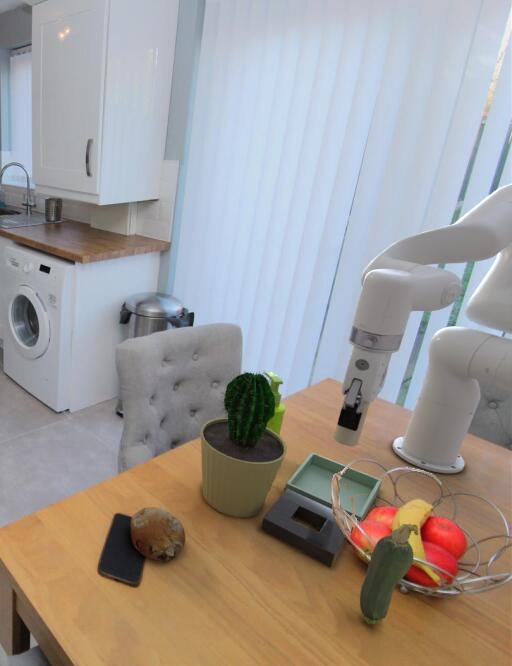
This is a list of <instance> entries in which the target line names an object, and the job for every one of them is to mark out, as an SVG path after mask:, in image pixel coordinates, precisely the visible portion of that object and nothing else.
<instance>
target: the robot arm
mask: <svg viewBox="0 0 512 666" xmlns="http://www.w3.org/2000/svg"><path fill="white" fill-rule="evenodd" d="M495 256H496V258H495V259H494V262H493V264H492V265H491V267H490V268H489V270H488V272H486V275H484V277H483V278H482V280H481V281H480V283H479V285H478V286H477V287H476V289H475V291H474V292H473V294H472V295H471V296H470V298H469V300H468V302H467V304H466V306H465V309H464V315H465V318H467V319H468V321H470V322H471V323H474V324H476V325H478V326H482V327H484V328H488V329H490V330H491V329H492V330H495V331H499V332H503V333H507V334H510V335H512V183H509V184H505V185H503V186H501V187H499V188H497V189H496V190H494V191H493V192H492V193H491V194H489V195H488V196H487V197H485V198H484V199H483V200H482V201H480V202H479V203H477V204H476V205H475V206H474V207H473V208H472V209H470V210H469V211H468V212H467V213H465V214H464V215H463V216H461V217H460V218H459V219H457V220H456V221H455V222H454V223H453V224H449V225H445V226H440V227H438V228H437V227H436V228H433V229H429V230H426V231H422V232H419V233H415V234H412V235H409V236H407V237H404V238H401V239H399V240H397V241H395V242H393V243H392V244H390V245H389V246H388V247H386V248H385V249H384V250H382V251H381V252H380V253H379V254H378V255H376V257H374V258H373V259H372V260H371V261H370V262H369V263H368V265H367V266H366V267H365V268H364V270H363V272H362V274H361V278H360V285H361V290H360V293H359V294H360V295H359V298H358V301H357V305H356V309H355V313H354V316H353V321H352V325H351V329H350V332H349V335H348V340H347V341H348V343H349V344H350V345H351V346H353V348H352V350H351V354H350V357H349V361H348V364H347V367H346V371H345V373H344V374H345V375H344V378H343V382H342V386H341V394H342V395H343V396H344V397H345V395H346V397H345V401H344V400H343V401H344V404H343V403H342V405H343V406H342V405H341V407H340V412H339V416H338V420H337V422H336V425H337V424H338V425H339V426H341V427H344V428H347V429H350V430H353V431H357V429H358V426H359V423H360V419H361V416H362V412H361V409H362V406H363V403H364V401H367V403H370V404H371V403H373V402H374V401H375V400H376V399H377V397H378V396H379V395H380V393H381V392H382V390H383V389H384V386H385V382H386V380H387V379H386V378H387V375H388V372H389V371H388V370H389V367H390V363H391V360H392V355H393V354H394V353H397V352H399V351H400V348H401V344H402V341H403V338H404V334H405V333H406V329H407V325H408V321H409V319H410V315H411V313H412V312H435V311H441V310H443V309H445V308H448V307H450V306H451V305H453V304H454V303H455V302H456V301H457V300H458V299H459V297H460V295H461V294H462V291H463V282H462V280H461V278H460V277H459V275H457V274H456V273H454V272H452V271H450V270H448V269H444V268H439V267H435V266H431V265H439V264H440V265H443V264H444V265H445V264H464V263H473V262H482V261H487V260H489V259H492V258H494V257H495ZM479 382H481V383H485V384H487V385H490V386H492V387H496V388H499V389H501V390H504V391H507V392H510V393H512V339H508V338H505V337H501V336H499V335H495V334H494V333H493V334H492V333H489V332H485V331H481V330H478V329H474V328H470V327H466V326H455V325H453V326H447V327H443V328H441V329H439V330H437V331H436V332H435V333H434V334H433V335H432V337H431V339H430V341H429V343H428V349H427V363H426V369H425V372H424V376H423V381H422V383H421V386H420V389H419V393H418V396H417V399H416V402H415V404H414V407H413V410H412V413H411V416H410V419H409V421H408V425H407V428H406V431H405V433H404V436H400V437H397V438H395V439H394V440H393V443H392V449H393V451H394V453H395V454H396V455H398V457H400V458H401V459H402V460H404V461H406V462H407V463H409V464H411V465H413V466H416V467H417V468H420V469H423V470H427V471H430V472H434V473H440V474H457V473H461V471H463V469H465V468H464V467H465V466H466V463H465V459H464V458H463V457H462V456H461V454H460V451H461V448H462V445H463V444H464V441H465V438H466V436H467V433H468V432H469V429H470V426H471V424H472V421H473V418H474V415H475V414H476V411H477V408H478V406H479V404H480V400H481V387H480V385H479ZM358 395H361V396H362V397H360V396H358ZM356 400H358V401H359V404H358V403H356Z"/></svg>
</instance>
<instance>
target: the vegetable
mask: <svg viewBox="0 0 512 666" xmlns="http://www.w3.org/2000/svg"><path fill="white" fill-rule="evenodd" d="M420 530H421V529H419V527H418V525H417V524H411V523H402V524H401V525H400V526H399V527H398V528H395V529H393V530H392V531H391V532H390V534H388V535H385V536H383V537H381V538H380V539H379V540H378V541H377V543H376V544H375V545H374V548H373V549H372V553H371V556H370V560H369V563H368V565H367V569H366V573H365V576H364V580H363V582H362V586H361V589H360V593H359V594H360V595H359V606H360V607H359V609H360V611H361V613H362V615H363V616H364V619H365V621H366V623H367V624H368V625H371V626H374V625H376V624H378V623H381V622H382V621H383V619H385V618H386V617H387V615H388V611H389V607H390V604H391V601H392V597H393V593H394V592H395V591H394V590H395V588H396V587H397V585H398V583H399V582H400V581H401V580H402V579H403V578H404V577H405V576H406V574H407V573H408V572H409V570H410V568H411V567H412V565H413V563H414V550H413V547H412V545H411V543H409V539H410V537H411V535H412V532H413V534H414V535H415V536H419V534H420V532H419V531H420Z"/></svg>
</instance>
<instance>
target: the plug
mask: <svg viewBox="0 0 512 666" xmlns="http://www.w3.org/2000/svg"><path fill="white" fill-rule="evenodd" d="M358 396H360V397H362V396H361V395H358ZM345 397H346V395H344V397H343V401H342V405H341V407H342V406H343V404H344V401H345ZM356 403H358V404H359V401H358V400H356ZM370 405H371V403H367V401H364V403H363V406H362V409H361V412H362V416H361V419H360V423H359V426H358V429H357V431H353V430H350V429H347V428H344V427H341V426H339V425H338V424H337V423H336V427H335V431H334V434H333V439H334V441H335V442H337V443H339V445H343V446H346V447H356V446H358V444H359V441H360V438H361V434H362V432H363V428H364V424H365V421H366V417H367V414H368V411H369V408H370Z"/></svg>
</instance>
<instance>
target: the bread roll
mask: <svg viewBox="0 0 512 666" xmlns="http://www.w3.org/2000/svg"><path fill="white" fill-rule="evenodd" d="M129 527H130V530H131V531H130V530H129V531H130V537H131V542H132V545H133V547H134V548H135V549H136V550H137V551H138V553H140V554H141V555H142V556H144V557H145V558H147V559H149V560H150V559H151V560H156V561H159V562H168V561H171V560H172V559H174V558H175V557H177V556H179V555H180V553H181V552H182V551H183V549H185V544H186V533H185V527H184V525H183V523H182V522H181V521H180V519H179V518H178V517H176V516H175V515H174V514H172V513H171V512H169V511H168V510H165V509H163V508H159V507H154V506H145V507H144V508H141V509H140V510H139V511H137V512H136V513H135V514H134V515H133V516H132V517H131V519H130V524H129Z"/></svg>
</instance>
